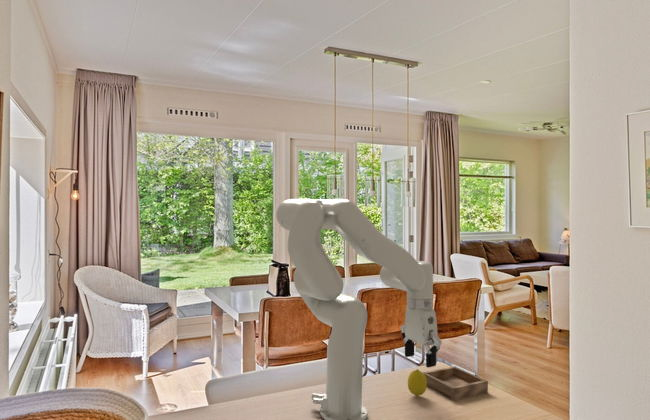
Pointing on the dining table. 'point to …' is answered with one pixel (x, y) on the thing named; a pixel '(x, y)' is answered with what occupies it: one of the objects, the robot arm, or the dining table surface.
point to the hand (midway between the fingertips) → (419, 361)
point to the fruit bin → (455, 383)
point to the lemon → (417, 383)
